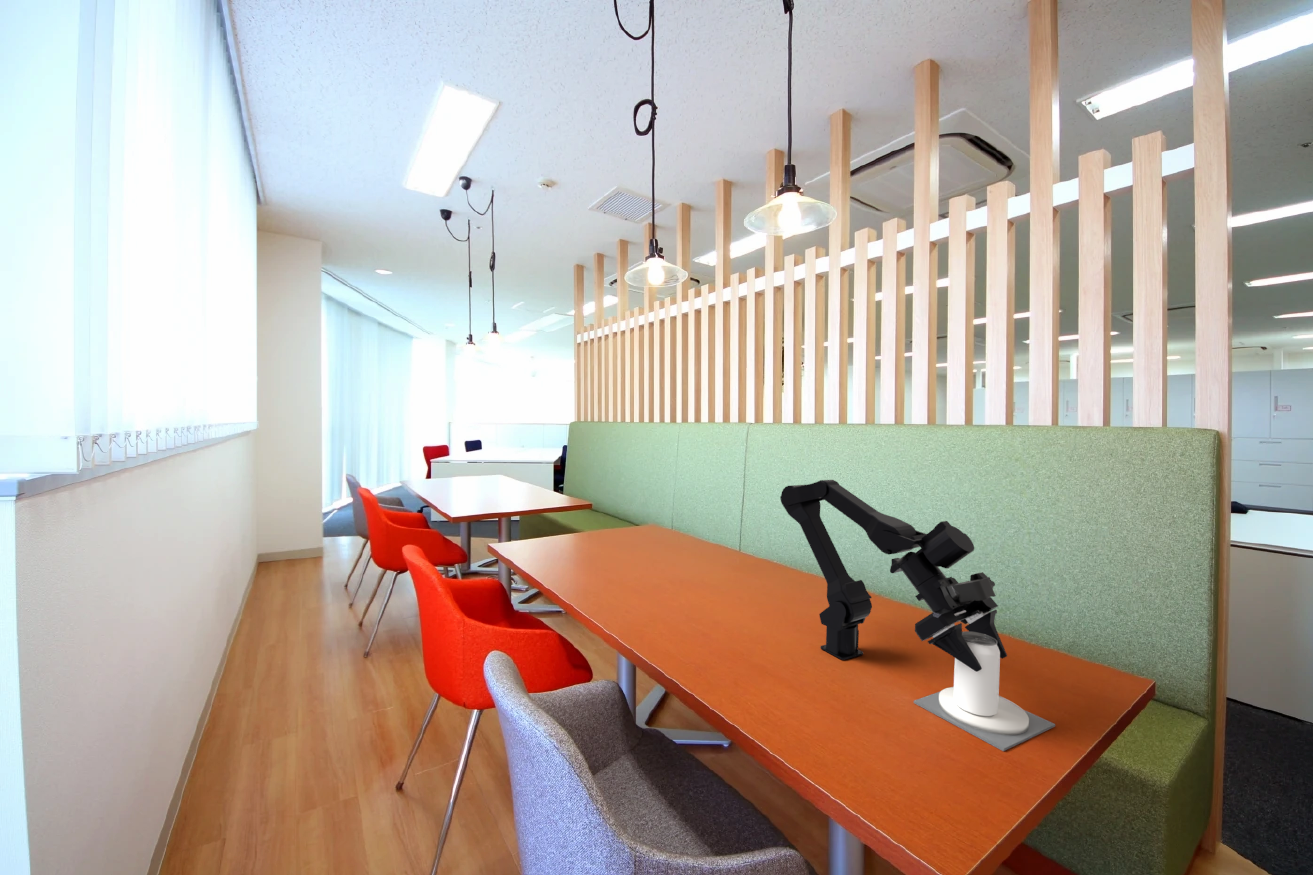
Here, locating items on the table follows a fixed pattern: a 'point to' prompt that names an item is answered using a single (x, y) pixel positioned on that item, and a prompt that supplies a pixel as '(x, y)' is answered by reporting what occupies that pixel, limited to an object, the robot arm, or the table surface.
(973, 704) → the can
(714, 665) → the table surface
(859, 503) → the robot arm
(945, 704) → the dish
